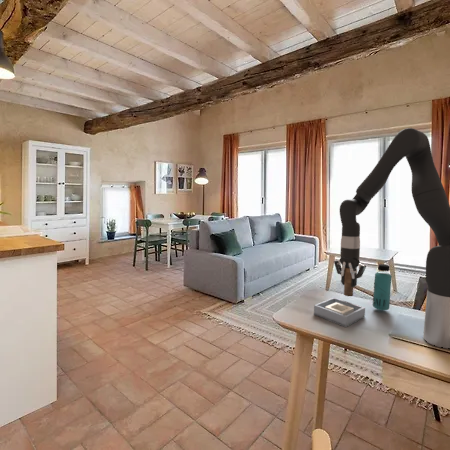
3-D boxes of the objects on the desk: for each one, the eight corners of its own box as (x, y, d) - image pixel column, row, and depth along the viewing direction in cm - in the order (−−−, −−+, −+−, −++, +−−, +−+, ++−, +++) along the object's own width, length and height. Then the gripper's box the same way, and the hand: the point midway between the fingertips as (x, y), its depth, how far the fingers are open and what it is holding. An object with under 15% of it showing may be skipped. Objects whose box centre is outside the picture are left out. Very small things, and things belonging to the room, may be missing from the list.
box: (364, 317, 118) (365, 307, 118) (345, 327, 110) (346, 317, 109) (333, 306, 129) (333, 297, 129) (313, 314, 121) (314, 305, 120)
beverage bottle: (385, 307, 127) (388, 262, 125) (392, 314, 121) (396, 267, 118) (369, 307, 128) (372, 262, 125) (375, 313, 121) (379, 266, 119)
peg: (354, 295, 127) (355, 268, 126) (350, 297, 125) (351, 269, 124) (346, 292, 130) (347, 266, 129) (342, 294, 128) (343, 267, 127)
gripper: (371, 247, 122) (369, 287, 124) (339, 243, 133) (338, 280, 135) (362, 249, 117) (360, 291, 119) (330, 245, 129) (329, 283, 130)
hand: (348, 285), depth 127 cm, fingers closed on peg, 3 cm apart
